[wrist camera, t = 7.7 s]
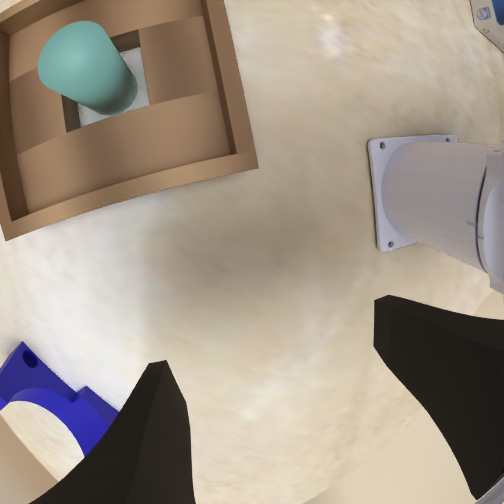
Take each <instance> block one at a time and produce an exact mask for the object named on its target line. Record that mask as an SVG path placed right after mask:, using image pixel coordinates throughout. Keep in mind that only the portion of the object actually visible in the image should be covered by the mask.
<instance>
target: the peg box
mask: <svg viewBox="0 0 504 504" xmlns="http://www.w3.org/2000/svg"><path fill="white" fill-rule="evenodd" d="M78 21H91V22H95V23H97V24H98V25H100V26H101V27H102V28H103V29H104V31H105V32H106V34H107V35H108V37H109V38H110V40H111V42H112V43H113V45H114V46H115V48H116V49H117V51H118V52H122V51H125V50H129V49H132V48H136V47H140V46H141V52H142V59H143V66H144V72H145V79H146V85H147V91H148V96H149V102H150V106H146V107H143V108H139V109H136V110H132V111H129V112H126V113H122V114H119V115H116V116H113V117H110V118H107V119H104V120H101V121H98V122H95V123H92V124H89V125H86V126H84V127H80V121H79V114H78V107H77V102H76V101H74V100H72V99H70V98H68V97H66V96H64V95H62V94H60V93H58V92H56V91H54V90H52V89H50V88H48V87H46V86H45V85H44V84H43V83H42V81H41V80H40V78H39V75H38V60H39V57H40V54H41V51H42V49H43V47H44V46H45V44H46V43H47V41H48V40H49V39H50V38H51V37H52V36H53V35H54V34H55V33H56V32H57V31H59V30H60V29H61V28H63V27H65V26H67V25H69V24H71V23H74V22H78ZM252 169H258V163H257V157H256V152H255V147H254V142H253V137H252V132H251V127H250V122H249V117H248V112H247V107H246V102H245V97H244V92H243V87H242V82H241V78H240V73H239V68H238V63H237V59H236V54H235V49H234V45H233V40H232V35H231V31H230V26H229V22H228V17H227V13H226V8H225V4H224V0H22V1H20V2H18V3H17V4H15V5H13V6H12V7H10V8H8V9H7V10H5V11H3V12H2V13H0V224H1V228H2V231H3V234H4V238H5V241H8V240H11V239H13V238H16V237H18V236H21V235H23V234H26V233H29V232H31V231H34V230H37V229H39V228H42V227H45V226H48V225H50V224H53V223H56V222H59V221H62V220H65V219H68V218H71V217H74V216H77V215H80V214H83V213H86V212H89V211H92V210H95V209H99V208H102V207H105V206H108V205H112V204H115V203H118V202H122V201H125V200H129V199H132V198H136V197H139V196H143V195H146V194H150V193H154V192H157V191H161V190H165V189H169V188H173V187H177V186H181V185H185V184H189V183H193V182H197V181H202V180H206V179H210V178H215V177H219V176H224V175H228V174H233V173H238V172H243V171H247V170H252Z"/></svg>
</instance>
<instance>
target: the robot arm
mask: <svg viewBox="0 0 504 504" xmlns="http://www.w3.org/2000/svg"><path fill="white" fill-rule="evenodd" d="M380 142H381V143H382V148H380V146H379V145H380ZM502 144H503V146H499V145H488V144H473V143H458V138H457V136H456V135H424V136H405V137H391V138H378V139H371V140H370V141H369V142H368V151H369V159H370V166H371V175H372V183H373V193H374V204H375V216H376V231H377V247H378V250H379V251H381V252H388V251H391V250H395V249H398V248H401V247H404V246H407V245H410V244H413V243H417V242H420V243H422V244H424V245H427V246H429V247H431V248H434V249H436V250H438V251H440V252H443V253H445V254H447V255H449V256H452V257H454V258H456V259H458V260H460V261H462V262H465V263H467V264H469V265H471V266H473V267H475V268H477V269H479V270H481V271H484V272H486V273H488V274H489V277H490V288H492V289H494V290H496V291H498V292H500V293H501V294H503V295H504V134H503V136H502ZM389 242H391V243H390V245H389V246H388V243H389ZM373 346H374V348H375V349H376V351H377V352H378V354H379V355H380V357H381V358H382V360H383V361H384V363H385V364H386V366H387V367H388V368H389V369H390V370H391V371H392V373H393V374H394V375H395V376H396V377H397V378H398V379H399V380H400V381H401V383H402V384H403V385H404V386H405V387H406V388H407V389H408V390H409V391H410V392H411V393H412V395H413V396H414V397H415V398H416V399H417V400H418V401H419V402H420V403H421V404H422V406H423V407H424V408H425V409H426V411H427V412H428V413H429V415H430V416H431V418H432V419H433V421H434V422H435V424H436V425H437V427H438V428H439V430H440V431H441V433H442V434H443V436H444V438H445V439H446V441H447V443H448V444H449V446H450V448H451V449H452V452H453V453H454V455H455V457H456V459H457V461H458V463H459V465H460V467H461V470H462V472H463V474H464V476H465V479H466V481H467V484H468V486H469V489H470V492H471V494H472V495H473V496H474V498H475V499H476V500H478V499H480V498H481V497H482V496H483V495H484V494H486V493H487V492H488V491H489V490H490V489H491V488H492V487H494V486H495V485H496V484H497V483H498V482H499V481H500V480H501V479H502V478H503V477H504V320H498V319H489V318H482V317H475V316H470V315H465V314H461V313H456V312H452V311H448V310H444V309H440V308H437V307H433V306H429V305H426V304H422V303H419V302H415V301H412V300H408V299H405V298H401V297H397V296H392V295H387V296H384V297H382V298H379V299H376V300H374V345H373ZM502 502H504V479H503V480H501V482H499V483H498V484H497V485H496V486H495V487H494V488H493V489H492V490H491V491H490V492H488V493H487V494H486V495H485V496H484V497H482V498H481V499H480V500H479V501H478V502H477V503H475V504H502ZM29 504H196V503H195V497H194V491H193V480H192V460H191V434H190V424H189V417H188V411H187V404H186V401H185V399H184V397H183V395H182V393H181V391H180V389H179V387H178V385H177V383H176V380H175V378H174V376H173V374H172V372H171V369H170V367H169V365H168V363H167V360H164V361H159V362H154V363H149V364H148V366H147V367H146V369H145V371H144V372H143V374H142V376H141V377H140V379H139V381H138V382H137V384H136V386H135V388H134V389H133V391H132V393H131V394H130V396H129V398H128V399H127V401H126V403H125V404H124V406H123V407H122V409H121V411H120V412H119V414H118V415H117V416H116V418H115V419H114V421H113V422H112V424H111V425H110V427H109V428H108V430H107V431H106V432H105V434H104V435H103V436H102V438H101V439H100V440H99V441H98V443H97V444H96V445H95V446H94V447H93V449H92V450H91V451H90V452H89V453H88V454H87V455H86V457H85V458H84V459H83V460H82V461H81V462H80V463H79V464H78V465H77V466H76V467H75V468H74V469H73V470H72V471H71V472H70V473H68V474H67V475H66V476H65V477H64V478H63V479H62V480H61V481H60V482H58V483H57V484H56V485H55V486H54V487H52V488H51V489H50V490H48V491H47V492H46V493H44V494H43V495H42V496H40V497H39V498H37V499H36V500H34V501H32V502H31V503H29Z"/></svg>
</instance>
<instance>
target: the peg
mask: <svg viewBox="0 0 504 504" xmlns="http://www.w3.org/2000/svg"><path fill="white" fill-rule="evenodd" d="M38 75H39V78H40V80H41V81H42V83H43V84H44V85H45V86H46V87H48V88H50V89H52V90H54V91H56V92H58V93H60V94H62V95H64V96H66V97H68V98H70V99H72V100H74V101H76V102H78V103H80V104H82V105H84V106H86V107H88V108H90V109H92V110H94V111H96V112H98V113H100V114H102V115H115V114H118V113H120V112H122V111H124V110H125V109H126V108H127V107H129V105H130V104H131V103H132V102H133V100H134V98H135V96H136V92H137V83H136V80H135V77H134V76H133V74H132V73H131V71H130V70H129V68H128V67H127V65H126V63H125V62H124V60H123V59H122V57H121V56H120V54H119V52H118V51H117V49H116V48H115V46H114V45H113V43H112V42H111V40H110V38H109V37H108V35H107V34H106V32H105V31H104V29H103V28H102V27H101V26H100V25H98V24H97V23H95V22H91V21H78V22H74V23H71V24H69V25H67V26H65V27H63V28H61V29H60V30H59V31H57V32H56V33H55V34H54V35H53V36H52V37H51V38H50V39H49V40H48V41H47V43H46V44H45V46H44V47H43V49H42V51H41V54H40V57H39V60H38Z"/></svg>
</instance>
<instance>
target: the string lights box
mask: <svg viewBox="0 0 504 504" xmlns="http://www.w3.org/2000/svg"><path fill="white" fill-rule="evenodd" d="M470 2H471V7H472V13H473V19H474V25H475V27H476V28H477V29H478V30H479V31H480V32H481V33H483V34H484V35H485V36H486V37H487V38H488V39H490V40H491V41H492V42H493V43H494V44H495V45H496V46H497V47H498V48H499V49H500V50H501V51H503V52H504V0H470Z"/></svg>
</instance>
